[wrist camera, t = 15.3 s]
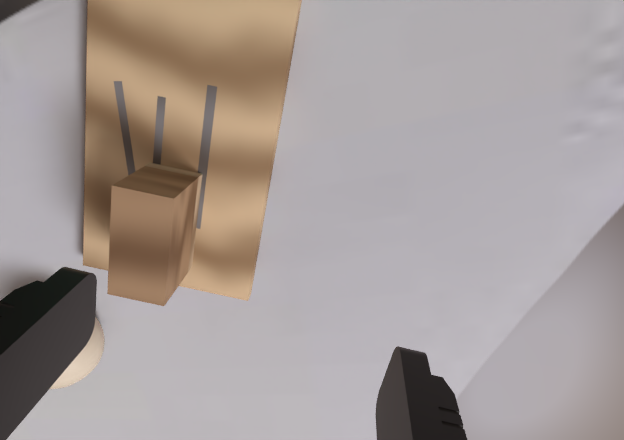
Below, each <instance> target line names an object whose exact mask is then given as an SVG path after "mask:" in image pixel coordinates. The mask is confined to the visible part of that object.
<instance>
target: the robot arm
mask: <svg viewBox="0 0 624 440" xmlns="http://www.w3.org/2000/svg"><path fill="white" fill-rule="evenodd" d="M96 285H97V280H96V276H95V274H93V273H88V272H84V271H80V270H76V269H72V268H67V267H63V268H61V269H59V270H58V271H57V272H56V273H55V274H53V275H52V276H51V277H50V278H48V279H47V280H46V281H45V282H40V281H35V282H33V283H30V284H28V285H25V286H23V287H20V288H18V289H15V290H14V291H12V292H11V293H10V294H9V295H7V296H6V297H5V298H3V299H2V300H1V301H0V440H6V439H7V438H8V437H9V436H10V434H11V433H12V432H13V431H14V430H15V429H16V427H17V426H18V425H19V424H20V423H21V421H22V420H23V419H24V418H25V417H26V416H27V414H28V413H29V412H30V411H31V410H32V409H33V407H34V406H35V405H36V404H37V403H38V401H39V400H40V399H41V398H42V397H43V396H44V394H45V393H46V392H47V391H48V390H49V389H50V387H51V386H52V385H53V384H54V383H55V381H56V380H57V379H58V378H59V377H60V376H61V374H62V373H63V372H64V371H65V370H66V368H67V367H68V366H69V365H70V364H71V363H72V361H73V360H74V359H75V358H76V357H77V356H78V354H79V353H80V352H81V351H82V350H83V348H84V347H85V346H86V345H87V343H88V341H89V340H90V338H91V335H92V333H93V330H94V325H95V310H96ZM376 429H377V440H467V438H466V434H465V430H464V429H463V423H462V419H461V416H460V415H459V409H458V405H457V401H456V398H455V394H454V393H453V391H452V390H451V389H450V387H449V386H448V384H447V383H446V382H445V380H444V379H443V377H438V376H434V375H431V372H430V368H429V363H428V359H427V355H426V354H425V353H423V352H419V351H415V350H410V349H406V348H402V347H396V348H395V350H394V352H393V354H392V357H391V360H390V363H389V365H388V368H387V371H386V374H385V376H384V379H383V382H382V385H381V387H380V390H379V394H378V398H377V404H376Z"/></svg>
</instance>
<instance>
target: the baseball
mask: <svg viewBox="0 0 624 440" xmlns="http://www.w3.org/2000/svg"><path fill="white" fill-rule="evenodd" d="M103 350H104V333H103V329H102V327H101V324H100V323H99V321H98V319H97V318H96V317H95V325H94V330H93V333H92V335H91V338H90V340H89V341H88V343H87V345H86V346H85V347H84V348H83V350H82V351H81V352H80V353H79V354H78V356H77V357H76V358H75V359H74V360H73V361H72V363H71V364H70V365H69V366H68V367H67V368H66V370H65V371H64V372H63V373H62V374H61V376H60V377H59V378H58V379H57V380H56V381H55V383H54V384H53V385H52V386H51V387H50V389H58V388H64V387H67V386H70V385H72V384H74V383H76V382H78V381H80V380H81V379H83V378H84V377H86V376H87V375H88V374H89V373H90V372H91V371H92V370H93V369H94V368H95V367H96V366H97V364H98V363H99V361H100V359H101V356H102V353H103Z"/></svg>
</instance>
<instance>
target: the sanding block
mask: <svg viewBox="0 0 624 440" xmlns="http://www.w3.org/2000/svg"><path fill="white" fill-rule="evenodd" d="M201 183H202V174H201V173H196V172H192V171H187V170H182V169H178V168H173V167H168V166H164V165H159V164H154V163H149V164H147V165H146V166H144V167H142V168H140V169H139V170H137V171H135V172H134V173H132V174H130V175H129V176H127V177H125V178H124V179H122V180H120V181H118V182H117V183H115V184H113V185H112V192H111V217H110V243H109V269H108V294H110V295H115V296H119V297H124V298H129V299H133V300H138V301H143V302H147V303H152V304H157V305H161V306H164V305H165V304H166V303H167V301H168V300H169V298H170V297H171V296H172V294H173V293H174V291H175V290H176V289H177V287H178V286H179V284H180V283H181V282H182V280H183V279H184V277H185V276H186V275H187V273H188V272H189V270H190V269H191V268H192V262H193V253H194V244H195V236H196V227H197V218H198V209H199V200H200V192H201Z"/></svg>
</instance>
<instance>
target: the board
mask: <svg viewBox="0 0 624 440" xmlns="http://www.w3.org/2000/svg"><path fill="white" fill-rule="evenodd" d="M301 2H302V0H88V6H87V65H86V123H85V181H84V240H83V265H85V266H89V267H94V268H99V269H103V270H108V269H109V243H110V217H111V192H112V185H113V184H115V183H117V182H118V181H120V180H122V179H124V178H125V177H127V176H129V175H130V174H132V173H134V172H135V171H137V170H139V169H140V168H142V167H144V166H146V165H147V164H149V163H154V164H159V165H164V166H168V167H173V168H178V169H182V170H187V171H192V172H196V173H201V174H202V183H201V192H200V200H199V209H198V218H197V227H196V236H195V244H194V253H193V262H192V268H191V269H190V270H189V272H188V273H187V275H186V276H185V277H184V279H183V280H182V282H181V283H180V284H179V286H182V287H187V288H191V289H196V290H201V291H205V292H210V293H214V294H219V295H224V296H228V297H233V298H238V299H242V300H247V301H248V299H249V297H250V294H251V290H252V284H253V278H254V273H255V267H256V261H257V255H258V250H259V244H260V238H261V232H262V227H263V221H264V215H265V209H266V203H267V198H268V192H269V186H270V180H271V175H272V169H273V163H274V157H275V152H276V146H277V140H278V134H279V128H280V123H281V117H282V111H283V105H284V100H285V94H286V88H287V82H288V77H289V71H290V65H291V59H292V53H293V48H294V42H295V36H296V30H297V25H298V19H299V13H300V7H301Z"/></svg>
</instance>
